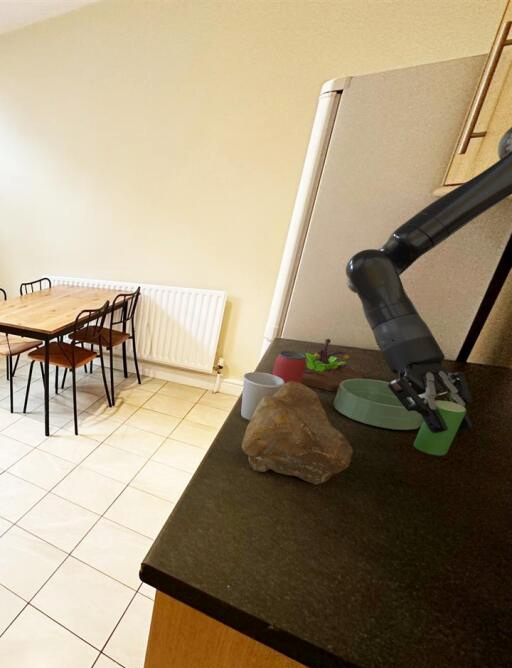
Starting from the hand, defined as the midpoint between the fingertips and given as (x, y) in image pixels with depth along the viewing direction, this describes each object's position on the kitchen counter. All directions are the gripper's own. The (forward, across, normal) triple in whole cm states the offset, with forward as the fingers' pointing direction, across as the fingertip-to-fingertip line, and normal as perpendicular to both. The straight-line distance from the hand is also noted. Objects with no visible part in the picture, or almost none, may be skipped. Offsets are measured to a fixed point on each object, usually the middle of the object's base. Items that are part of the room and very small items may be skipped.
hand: (452, 430), depth 72 cm
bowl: (-9, +14, +24) cm, 29 cm away
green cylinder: (+2, 0, +5) cm, 6 cm away
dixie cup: (-12, -14, +27) cm, 33 cm away
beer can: (-18, 0, +33) cm, 38 cm away
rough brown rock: (+1, -22, +14) cm, 26 cm away
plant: (-24, +20, +40) cm, 51 cm away
